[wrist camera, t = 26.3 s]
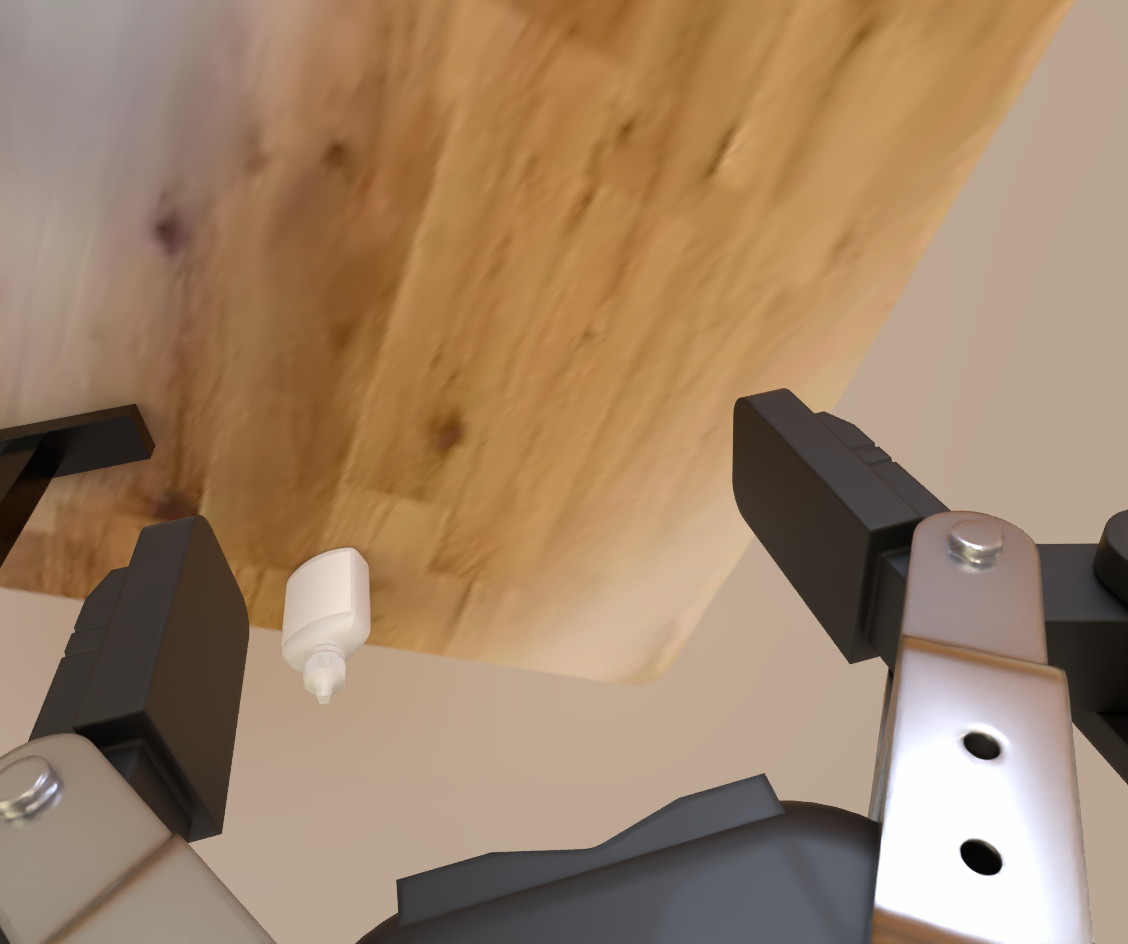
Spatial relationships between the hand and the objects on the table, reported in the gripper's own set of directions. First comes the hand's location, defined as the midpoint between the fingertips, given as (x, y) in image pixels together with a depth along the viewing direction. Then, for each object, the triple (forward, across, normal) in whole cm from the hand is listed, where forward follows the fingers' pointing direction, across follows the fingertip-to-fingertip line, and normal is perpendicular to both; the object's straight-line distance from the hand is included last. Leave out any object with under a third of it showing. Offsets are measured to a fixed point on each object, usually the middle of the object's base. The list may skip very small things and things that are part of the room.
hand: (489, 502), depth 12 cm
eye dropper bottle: (+36, +11, +28) cm, 47 cm away
